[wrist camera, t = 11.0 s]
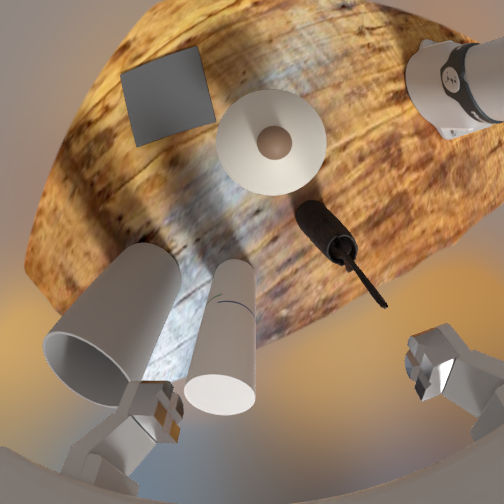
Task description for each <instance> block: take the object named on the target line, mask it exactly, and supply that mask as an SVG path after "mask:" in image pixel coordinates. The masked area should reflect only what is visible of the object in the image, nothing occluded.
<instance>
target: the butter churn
mask: <svg viewBox="0 0 504 504" xmlns="http://www.w3.org/2000/svg"><path fill="white" fill-rule="evenodd" d="M296 221H297V223H298V225H299V227H300V229H301V230H302V231H303V232H304V233H305V234H306V235H307V237H309V238H310V240H311V241H312V242H313V243H314V244H315V246H316V247H318V249H319V250H320V251H321V252H322V253H323V254H324V255H325V256H326V257H327V258H328V259H329V260H330V261H332V262H333V263H335V264H339V265H340V266H343V265H345V266H346V270H347V271H348V273H349V272H351V271H353V270H354V271H355V272H356V273H357V275H358V277H359V278H360V280H361V281H362V283H363V284H364V285H365V287H366V288H367V289H368V291H369V292H370V294H371V295H372V297H373V298H374V299H375V300H376V302H377V303H378V304H379V305H380V306H381V307H382V308H384V309H386V308H387V307H388V305H387V303H386V302H385V300H384V299H383V298H382V297H381V295H380V294H379V293H378V291H377V290H376V289H375V287H374V286H373V285H372V283H371V282H370V281H369V280H368V278H367V277H366V276H365V275H364V273H363V272H362V271H361V270H360V269H359V267H358V266H357V265H356V264H355V262H354V261H355V259H356V255H357V251H358V246H357V244H356V241H355V240H354V238H353V236H352V235H351V233H350V232H349V231H348V230H347V228H346V227H345V226H344V225H343V224H342V223H341V222H340V221H339V220H338V219H337V218H336V217H335V216H334V215H333V214H332V213H331V212H330V211H329V210H328V209H327V208H326V207H325V206H324V205H323V204H322V203H321V202H319V201H315V200H309V201H306V202H304V203H303V204H302V205H301V206H300V207H299V208H298V210H297V212H296Z"/></svg>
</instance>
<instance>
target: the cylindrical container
mask: <svg viewBox="0 0 504 504" xmlns="http://www.w3.org/2000/svg"><path fill="white" fill-rule="evenodd" d="M255 354H256V274H255V271H254V269H253V268H252V266H251V265H249V264H248V263H247V262H245V261H243V260H239V259H230V260H226V261H224V262H222V263H221V264H220V265H219V266H218V267H217V269H216V271H215V274H214V278H213V281H212V285H211V288H210V292H209V296H208V299H207V303H206V307H205V310H204V314H203V318H202V321H201V325H200V329H199V333H198V336H197V340H196V344H195V348H194V352H193V356H192V360H191V363H190V367H189V371H188V375H187V379H186V383H185V388H184V394H185V397H186V398H187V400H188V401H189V402H190V403H191V404H192V405H193V406H195V407H196V408H198V409H200V410H202V411H205V412H208V413H211V414H217V415H234V414H238V413H242V412H244V411H246V410H248V409H249V408H250V407H252V405H253V404H254V402H255V357H256V356H255Z"/></svg>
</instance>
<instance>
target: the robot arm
mask: <svg viewBox="0 0 504 504" xmlns="http://www.w3.org/2000/svg"><path fill="white" fill-rule="evenodd" d="M406 85H407V89H408V93H409V95H410V98H411V100H412V102H413V104H414V105H415V107H416V109H417V110H418V111H419V113H420V114H421V115H422V116H423V117H424V118H425V119H426V120H427V121H429V122H430V123H432V124H433V125H434V126H435V127H436V128H437V130H438V132H439V133H440V135H441V136H442V137H443V138H444V139H445V140H450V139H453V138H456V137H459V136H462V135H465V134H468V133H472V132H475V131H478V130H481V129H484V128H487V127H490V126H492V124H498V123H502V122H504V37H501V38H499V39H496V40H493V41H490V42H486V43H482V44H479V43H466V44H463V45H462V44H460V43H454V42H453V41H451V40H449V41H445V42H441V43H437V42H434V41H431V40H428V39H425V40H422V41H421V43H420V47H419V50H418V51H417V52H416V53H415V54H414V55H413V56H412V57H411V58H410V60H409V62H408V64H407V67H406ZM451 131H452V133H451ZM408 346H409V348H410V349H409V351H408V352H407V353H406V356H405V368H406V371H407V374H408V376H409V378H410V379H411V380H413V381H415V382H416V384H415V390H416V392H417V394H418V396H419V397H420V400H421V401H425V400H427V399H430V398H432V397H435V396H437V395H440V394H442V395H443V396H445V397H446V398H448V399H449V400H451V401H452V402H454V403H455V404H457V405H458V406H460V407H462V408H463V409H465V410H466V411H468V412H469V413H471V414H473V415H474V416H476V417H477V418H478V419H477V421H476V422H475V423H474V425H473V426H472V428H471V430H470V433H471V436H472V438H473V440H474V443H472V444H471V445H469V446H467V447H466V448H464V449H462V450H460V451H458V452H456V453H455V454H453V455H451V456H449V457H447V458H445V459H443V460H441V461H439V462H436V463H434V464H432V465H430V466H428V467H425V468H423V469H421V470H418V471H416V472H414V473H411V474H409V475H406V476H403V477H401V478H398V479H395V480H392V481H390V482H387V483H384V484H380V485H377V486H374V487H371V488H367V489H364V490H360V491H357V492H353V493H348V494H344V495H340V496H335V497H331V498H325V499H320V500H314V501H308V502H301V503H294V504H504V361H501V360H499V359H496V358H494V357H491V356H489V355H486V354H483V353H481V352H479V351H476V350H473V351H471V350H470V349H469V348H468V347H467V345H466V344H465V343H464V341H463V340H462V339H461V338H460V336H459V335H458V334H457V333H456V332H455V330H454V329H453V328H452V327H451V326H450V325H449V324H448V323H445V324H442V325H440V326H437V327H435V328H431V329H429V330H426V331H423V332H421V333H418V334H415V335H412V336H410V338H409V340H408ZM173 388H174V387H173V385H172V384H171V382H170V381H130V382H129V383H128V384H127V387H126V389H125V391H124V394H123V396H122V399H121V401H120V403H119V406H118V408H117V411H116V413H115V414H111V415H110V416H109V417H108V418H106V419H105V420H104V421H103V422H101V423H100V424H99V425H98V426H97V427H95V428H94V429H93V430H91V431H90V432H89V433H88V434H86V435H85V436H84V437H83V438H82V439H80V440H79V441H78V442H76V443H75V444H74V445H73V446H71V448H70V450H69V453H68V455H67V458H66V460H65V462H64V465H63V467H62V470H61V473H58V472H56V471H53V470H51V469H49V468H46V467H44V466H42V465H40V464H38V463H36V462H34V461H32V460H30V459H28V458H26V457H24V456H22V455H20V454H18V453H16V452H15V451H13V450H11V449H9V448H7V447H0V504H176V503H169V502H162V501H155V500H150V499H145V498H140V497H137V494H138V490H139V485H138V484H137V483H136V482H135V481H133V480H132V479H131V478H129V477H128V476H129V475H130V474H131V473H132V472H133V471H134V469H135V468H136V467H137V466H138V465H139V464H140V463H141V462H142V460H143V459H144V458H145V457H146V456H147V455H148V453H149V452H150V451H151V450H152V449H153V447H154V446H155V445H156V443H178V438H179V433H180V427H179V425H178V422H180V421H181V420H182V419H183V414H184V409H183V403H182V400H181V398H180V396H179V395H178V394H176V393H175V392H173Z"/></svg>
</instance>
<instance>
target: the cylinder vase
mask: <svg viewBox="0 0 504 504" xmlns="http://www.w3.org/2000/svg"><path fill="white" fill-rule="evenodd" d="M180 287H181V273H180V269H179V267H178V265H177V263H176V261H175V260H174V258H173V257H172V256H171V255H170V254H169V253H168V252H167V251H165V250H164V249H163V248H161V247H159V246H157V245H154V244H150V243H136V244H133V245H131V246H129V247H127V248H126V249H125V250H124V251H123V252H122V253H121V254H120V255H119V256H118V257H117V258H116V259H115V260H114V261H113V262H112V263H111V264H110V265H109V266H108V267H107V268H106V269H105V270H104V271H103V272H102V273H101V274H100V275H99V276H98V277H97V278H96V279H95V280H94V281H93V283H92V284H91V285H90V286H89V287H88V288H87V289H86V290H85V291H84V292H83V293H82V294H81V296H80V297H79V298H78V299H77V300H76V301H75V302H74V303H73V305H72V306H71V307H70V308H69V309H68V310H67V311H66V313H65V314H64V315H63V316H62V317H61V319H60V320H59V321H58V322H57V323H56V324H55V326H54V327H53V328H52V329H51V330H50V332H49V333H48V334H47V335H46V337H45V338H44V340H43V352H44V356H45V358H46V361H47V363H48V364H49V366H50V368H51V369H52V371H53V372H54V373H55V375H56V376H57V377H58V378H59V379H60V380H61V381H62V382H63V383H64V384H65V385H66V386H67V387H68V388H70V389H71V390H72V391H74V392H75V393H76V394H78V395H79V396H81V397H83V398H85V399H86V400H88V401H91V402H93V403H96V404H98V405H101V406H105V407H110V408H118V406H119V403H120V401H121V399H122V396H123V394H124V391H125V389H126V387H127V384H128V383H129V382H130V381H141V380H142V377H143V375H144V372H145V370H146V367H147V365H148V362H149V360H150V357H151V355H152V353H153V350H154V348H155V345H156V343H157V341H158V338H159V336H160V334H161V331H162V329H163V327H164V324H165V322H166V320H167V317H168V315H169V313H170V310H171V308H172V306H173V304H174V301H175V299H176V297H177V295H178V293H179V290H180Z"/></svg>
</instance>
